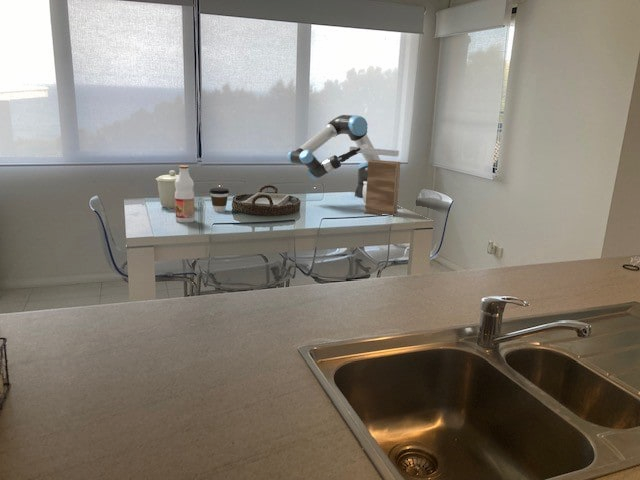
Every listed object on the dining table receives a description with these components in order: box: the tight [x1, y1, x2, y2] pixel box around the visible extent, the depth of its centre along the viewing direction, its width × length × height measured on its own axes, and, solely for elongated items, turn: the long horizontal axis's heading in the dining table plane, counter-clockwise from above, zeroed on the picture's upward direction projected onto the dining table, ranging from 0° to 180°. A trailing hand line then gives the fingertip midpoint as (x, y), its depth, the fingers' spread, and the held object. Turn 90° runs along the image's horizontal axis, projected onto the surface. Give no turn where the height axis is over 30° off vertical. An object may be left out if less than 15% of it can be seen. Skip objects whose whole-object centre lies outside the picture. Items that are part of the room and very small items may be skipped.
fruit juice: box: [175, 164, 196, 224], centre depth 267 cm, size 9×9×28 cm
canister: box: [155, 169, 179, 210], centre depth 301 cm, size 18×18×21 cm
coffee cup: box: [208, 187, 230, 213], centre depth 298 cm, size 11×11×12 cm
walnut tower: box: [363, 159, 402, 216], centre depth 307 cm, size 13×17×30 cm
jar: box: [362, 181, 367, 207], centre depth 331 cm, size 11×10×15 cm
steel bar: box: [348, 146, 400, 157], centre depth 304 cm, size 4×28×3 cm, turn 70°
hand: (366, 145), depth 305 cm, fingers closed on steel bar, 4 cm apart
